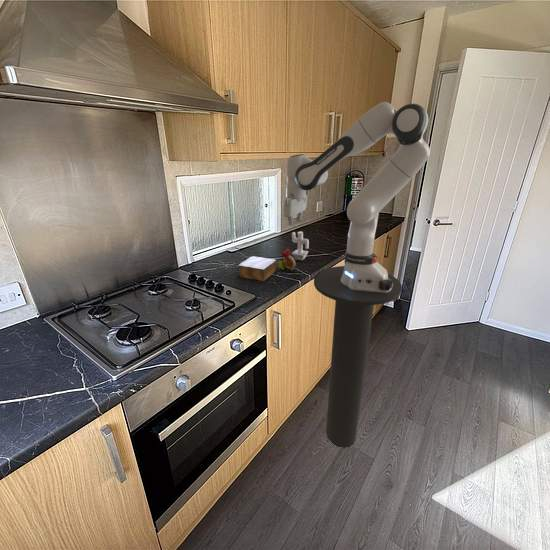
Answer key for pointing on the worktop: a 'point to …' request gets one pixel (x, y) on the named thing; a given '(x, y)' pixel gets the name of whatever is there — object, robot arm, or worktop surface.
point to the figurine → (300, 246)
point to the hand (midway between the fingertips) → (294, 223)
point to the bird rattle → (287, 261)
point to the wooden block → (257, 268)
